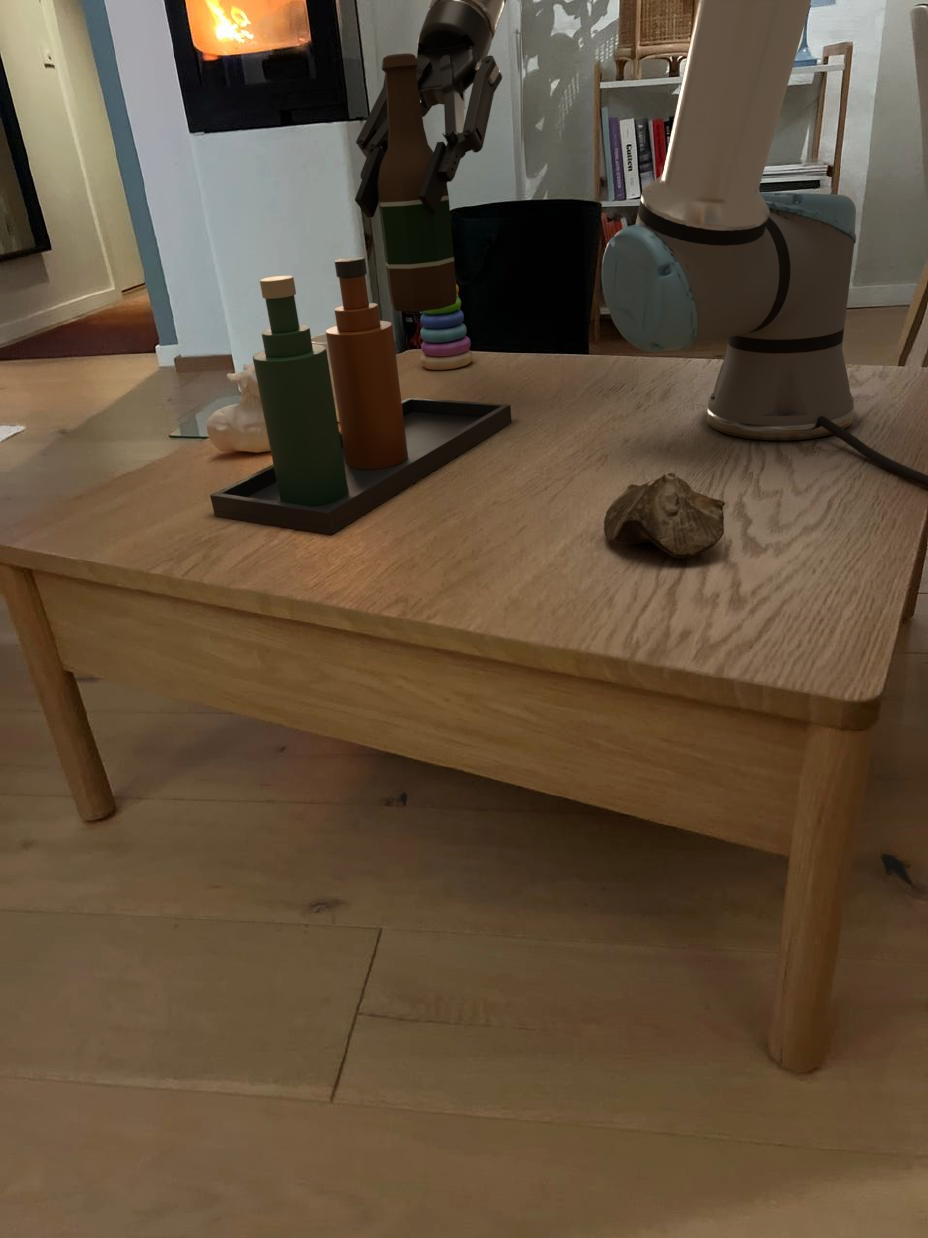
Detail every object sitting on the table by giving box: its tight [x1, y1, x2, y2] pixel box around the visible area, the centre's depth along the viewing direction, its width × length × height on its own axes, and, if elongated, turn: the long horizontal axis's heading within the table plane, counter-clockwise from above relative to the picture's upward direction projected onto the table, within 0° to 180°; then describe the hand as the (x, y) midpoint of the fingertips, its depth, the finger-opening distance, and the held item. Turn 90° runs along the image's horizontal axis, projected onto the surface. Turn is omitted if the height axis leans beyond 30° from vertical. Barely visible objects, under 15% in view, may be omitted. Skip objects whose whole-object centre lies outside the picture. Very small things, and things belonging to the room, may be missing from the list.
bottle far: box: [252, 275, 348, 506], centre depth 86 cm, size 7×7×20 cm
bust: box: [206, 362, 271, 454], centre depth 105 cm, size 12×8×11 cm
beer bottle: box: [377, 53, 457, 313], centre depth 96 cm, size 8×8×24 cm
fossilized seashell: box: [603, 472, 726, 559], centre depth 73 cm, size 8×7×10 cm
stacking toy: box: [420, 283, 474, 371], centre depth 134 cm, size 8×8×19 cm
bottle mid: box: [325, 256, 408, 470], centre depth 94 cm, size 7×7×20 cm
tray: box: [209, 397, 513, 536], centre depth 98 cm, size 36×15×2 cm, turn 150°
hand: (395, 206), depth 94 cm, fingers closed on beer bottle, 7 cm apart
